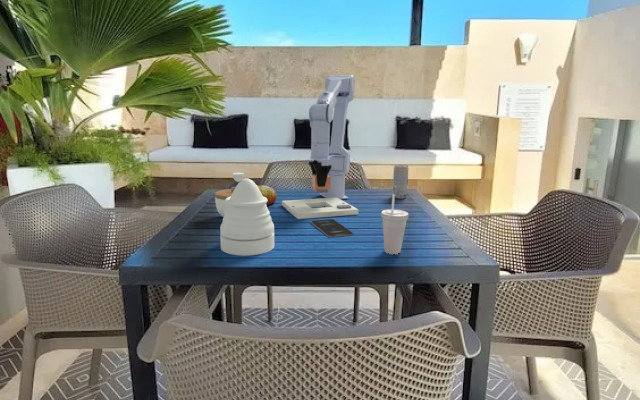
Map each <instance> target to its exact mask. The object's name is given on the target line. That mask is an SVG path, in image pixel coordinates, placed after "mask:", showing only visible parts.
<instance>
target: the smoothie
mask: <svg viewBox="0 0 640 400" xmlns="http://www.w3.org/2000/svg"><path fill="white" fill-rule="evenodd" d="M391 195H392V196H391V209H384V210H382V211H381V214H380V218H382V231H383V234H382V235H383V247H384V252H386V254H388V253H389V254H388V255H393V254H395V255H399V254H398V253H400V254H401V250H402V246H403V240H404V236H405V230H406V226H407V221H408V219H410V218H409V212H407V211H405V210H401V209H395V199H396V198H395V194H391Z"/></svg>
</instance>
